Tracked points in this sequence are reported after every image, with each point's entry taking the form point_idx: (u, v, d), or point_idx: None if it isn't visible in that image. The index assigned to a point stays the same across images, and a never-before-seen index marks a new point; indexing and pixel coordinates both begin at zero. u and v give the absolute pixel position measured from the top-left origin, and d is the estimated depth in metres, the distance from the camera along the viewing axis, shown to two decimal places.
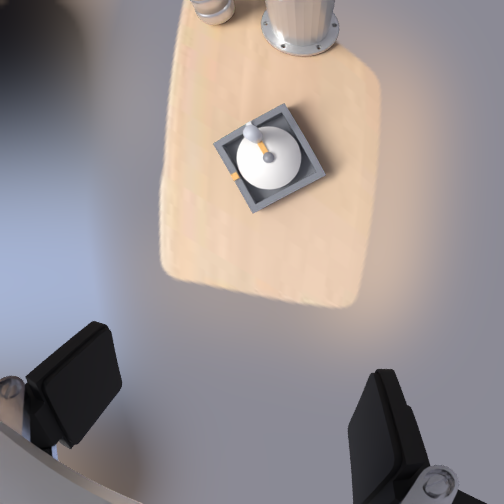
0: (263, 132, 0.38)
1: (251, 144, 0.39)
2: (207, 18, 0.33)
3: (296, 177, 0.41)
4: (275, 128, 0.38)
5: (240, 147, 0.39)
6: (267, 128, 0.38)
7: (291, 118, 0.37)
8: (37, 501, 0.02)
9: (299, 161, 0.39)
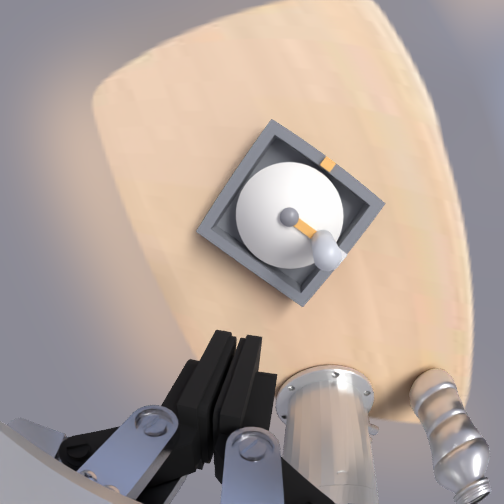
0: None
1: (324, 226, 0.24)
2: (440, 383, 0.25)
3: None
4: (299, 265, 0.25)
5: (340, 214, 0.23)
6: (311, 260, 0.25)
7: (282, 289, 0.26)
8: (37, 501, 0.02)
9: (241, 232, 0.25)
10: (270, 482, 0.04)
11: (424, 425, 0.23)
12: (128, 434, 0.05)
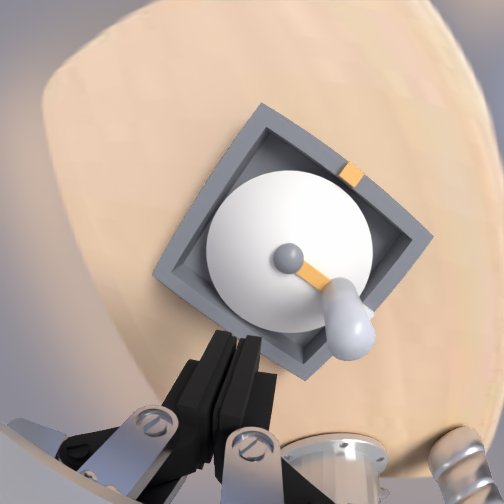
0: None
1: (343, 272, 0.15)
2: (468, 447, 0.16)
3: None
4: (302, 329, 0.16)
5: (367, 253, 0.15)
6: (320, 322, 0.16)
7: (277, 359, 0.17)
8: (37, 501, 0.02)
9: (214, 279, 0.16)
10: (270, 482, 0.04)
11: (444, 495, 0.14)
12: (128, 434, 0.05)
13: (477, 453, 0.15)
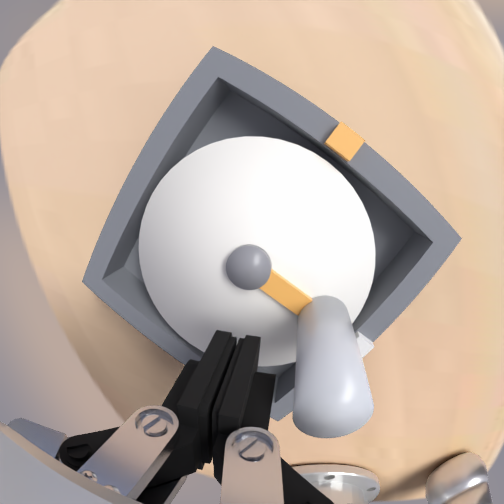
0: None
1: (331, 288, 0.10)
2: (470, 478, 0.12)
3: None
4: (271, 362, 0.12)
5: (368, 261, 0.10)
6: (296, 355, 0.11)
7: None
8: (37, 501, 0.02)
9: (152, 292, 0.12)
10: (269, 482, 0.04)
11: None
12: (128, 434, 0.05)
13: (480, 484, 0.11)
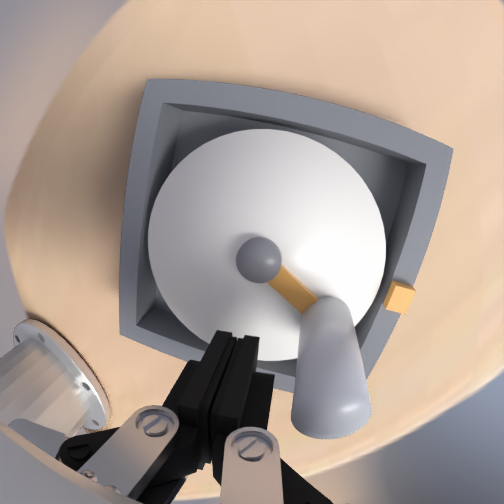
0: None
1: (337, 290, 0.10)
2: None
3: None
4: (269, 357, 0.12)
5: (377, 268, 0.10)
6: (295, 352, 0.11)
7: (124, 293, 0.12)
8: (37, 501, 0.02)
9: (157, 274, 0.11)
10: (268, 482, 0.04)
11: None
12: (129, 434, 0.05)
13: None
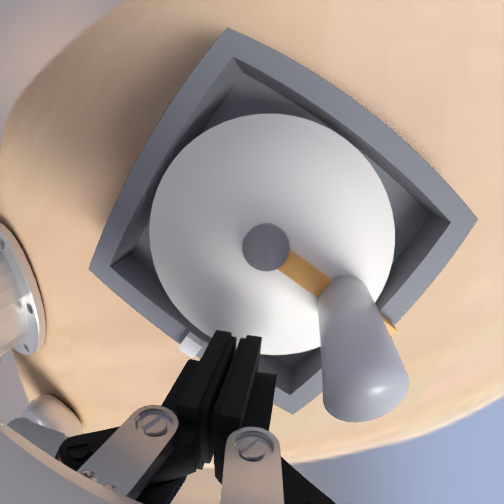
0: None
1: (351, 268, 0.10)
2: None
3: None
4: (290, 350, 0.11)
5: (387, 239, 0.09)
6: (316, 341, 0.11)
7: (109, 229, 0.11)
8: (37, 501, 0.02)
9: (163, 278, 0.11)
10: (270, 482, 0.04)
11: None
12: (128, 434, 0.05)
13: None
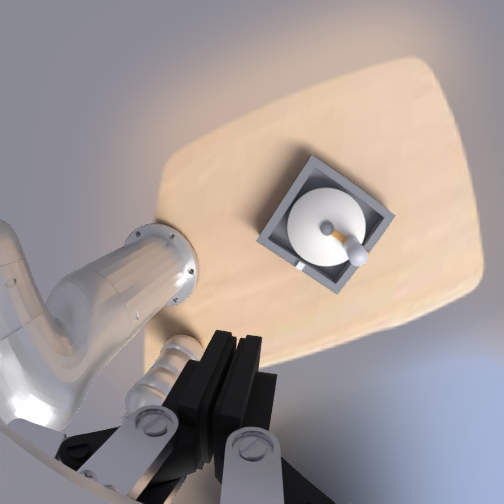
0: (346, 252, 0.33)
1: (352, 233, 0.32)
2: (196, 359, 0.40)
3: (331, 185, 0.33)
4: (335, 263, 0.33)
5: (363, 224, 0.31)
6: (343, 259, 0.33)
7: (269, 225, 0.33)
8: (37, 501, 0.02)
9: (291, 241, 0.33)
10: (270, 482, 0.04)
11: (162, 358, 0.37)
12: (128, 434, 0.05)
13: None
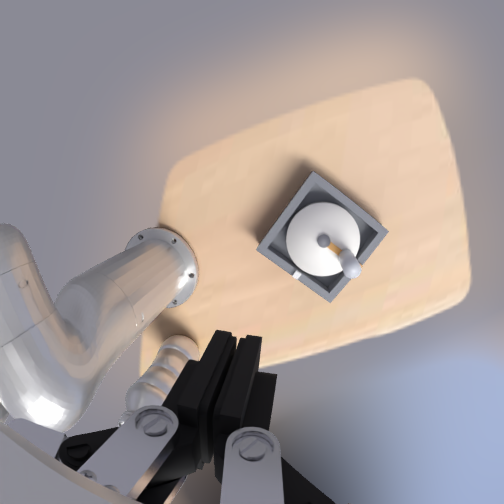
0: (340, 264, 0.35)
1: (347, 246, 0.34)
2: (193, 359, 0.41)
3: (330, 200, 0.35)
4: (329, 274, 0.35)
5: (357, 238, 0.34)
6: (338, 270, 0.35)
7: (269, 235, 0.35)
8: (37, 501, 0.02)
9: (289, 251, 0.35)
10: (270, 482, 0.04)
11: (161, 358, 0.38)
12: (128, 434, 0.05)
13: None
